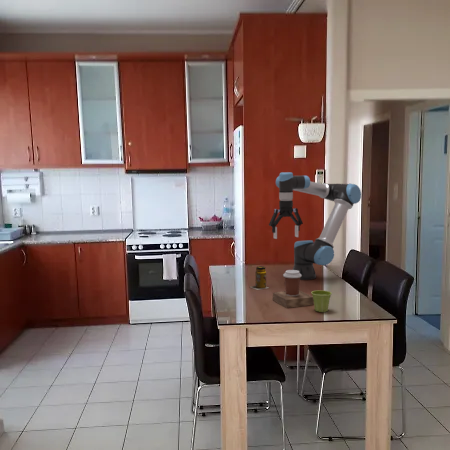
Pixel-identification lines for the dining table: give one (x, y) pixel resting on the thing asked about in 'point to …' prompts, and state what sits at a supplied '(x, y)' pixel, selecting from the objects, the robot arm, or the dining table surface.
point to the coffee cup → (292, 282)
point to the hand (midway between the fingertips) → (286, 237)
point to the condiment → (260, 278)
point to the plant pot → (321, 300)
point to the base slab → (293, 299)
